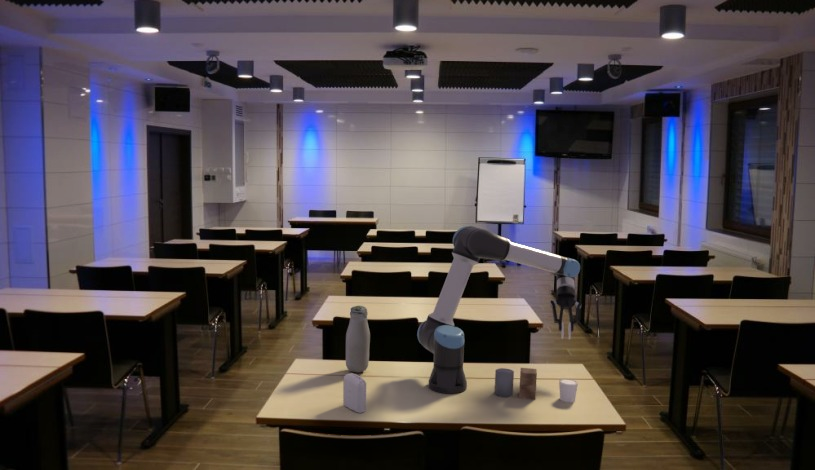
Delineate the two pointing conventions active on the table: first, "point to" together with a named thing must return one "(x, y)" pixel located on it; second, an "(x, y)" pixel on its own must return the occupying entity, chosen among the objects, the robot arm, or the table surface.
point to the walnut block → (528, 383)
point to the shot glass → (568, 390)
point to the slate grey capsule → (504, 382)
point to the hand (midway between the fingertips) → (566, 337)
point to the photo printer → (354, 392)
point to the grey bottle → (357, 340)
